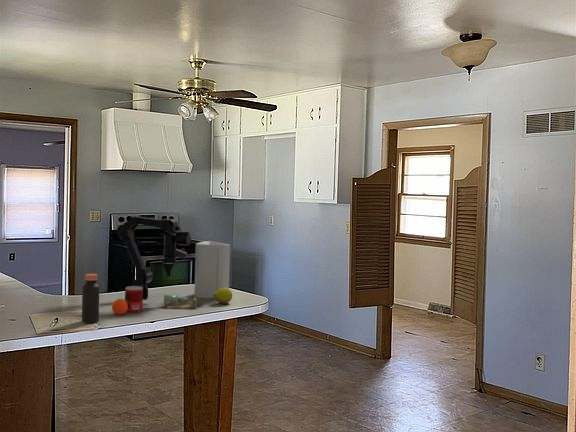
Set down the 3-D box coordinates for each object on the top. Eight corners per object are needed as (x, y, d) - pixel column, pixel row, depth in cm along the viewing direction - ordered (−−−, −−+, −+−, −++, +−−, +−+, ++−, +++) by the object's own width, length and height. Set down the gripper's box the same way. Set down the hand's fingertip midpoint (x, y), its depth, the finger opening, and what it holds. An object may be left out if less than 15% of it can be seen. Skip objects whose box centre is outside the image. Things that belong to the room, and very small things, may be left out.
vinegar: (96, 323, 248) (97, 276, 247) (79, 323, 247) (80, 275, 246) (100, 320, 254) (101, 273, 253) (84, 319, 254) (85, 273, 253)
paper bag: (185, 294, 320) (187, 242, 318) (208, 291, 330) (209, 241, 328) (206, 300, 306) (207, 245, 304) (229, 297, 316) (231, 244, 314)
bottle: (163, 299, 284) (188, 299, 286) (164, 293, 288) (188, 293, 290) (163, 306, 286) (188, 306, 288) (164, 300, 290) (188, 300, 292)
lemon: (229, 301, 305) (229, 285, 305) (235, 304, 299) (236, 288, 298) (209, 302, 300) (210, 287, 299) (216, 305, 293) (216, 289, 293)
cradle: (166, 308, 282) (166, 300, 282) (166, 303, 295) (167, 295, 295) (196, 308, 285) (196, 300, 284) (195, 303, 297) (196, 295, 297)
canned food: (145, 310, 277) (146, 286, 276) (135, 313, 269) (136, 289, 269) (131, 308, 279) (132, 285, 279) (121, 311, 272) (121, 287, 271)
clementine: (123, 311, 272) (124, 296, 271) (132, 314, 267) (133, 298, 267) (108, 314, 266) (108, 298, 265) (117, 317, 261) (118, 301, 261)
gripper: (186, 246, 291) (185, 278, 292) (186, 242, 310) (185, 272, 310) (162, 246, 289) (162, 278, 290) (164, 242, 308) (163, 272, 308)
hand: (169, 275), depth 300 cm, fingers open, 9 cm apart
